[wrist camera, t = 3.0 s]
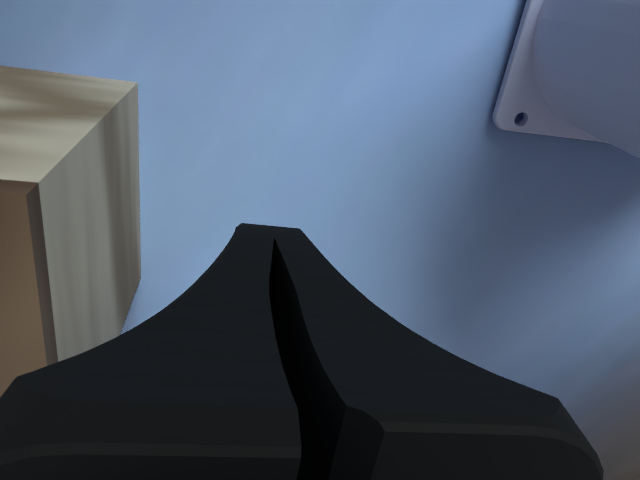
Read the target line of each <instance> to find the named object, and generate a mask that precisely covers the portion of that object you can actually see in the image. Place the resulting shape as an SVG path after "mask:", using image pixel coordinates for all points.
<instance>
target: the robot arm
mask: <svg viewBox="0 0 640 480" xmlns="http://www.w3.org/2000/svg"><path fill="white" fill-rule="evenodd" d="M521 112H523V118H522V120H521V121H520V122H519V123H515V117H516V115H517V114H519V113H521ZM492 119H493V123H494V124H495V125H496V126H497V127H498V128H500V129H502V130H505V131H514V132H522V133H530V134H539V135H547V136H555V137H564V138H572V139H580V140H589V141H597V142H605V143H608V144H610V145H612V146H614V147H616V148H618V149H620V150H622V151H624V152H626V153H628V154H630V155H632V156H634V157H636V158H638V159H640V0H527V1H526V4H525V8H524V11H523V14H522V18H521V21H520V25H519V28H518V31H517V35H516V38H515V41H514V45H513V48H512V51H511V55H510V58H509V61H508V65H507V68H506V72H505V75H504V78H503V82H502V85H501V88H500V92H499V95H498V98H497V102H496V105H495V109H494V112H493V118H492ZM0 480H603V468H602V466H601V463H600V460H599V458H598V455H597V453H596V452H595V450H594V449H593V447H592V446H591V445H590V443H589V442H588V440H587V439H586V437H585V436H584V435H583V433H582V432H581V430H580V429H579V427H578V426H577V425H576V423H575V422H574V420H573V419H572V418H571V416H570V415H569V413H568V412H567V410H566V409H565V408H564V406H563V405H562V403H561V402H560V401H559V399H558V398H555V397H553V396H550V395H548V394H545V393H542V392H540V391H537V390H535V389H532V388H529V387H527V386H524V385H522V384H519V383H516V382H514V381H511V380H509V379H506V378H503V377H501V376H498V375H496V374H494V373H491V372H489V371H487V370H485V369H483V368H481V367H478V366H476V365H474V364H472V363H470V362H468V361H466V360H464V359H461V358H459V357H457V356H456V355H454V354H452V353H450V352H448V351H446V350H444V349H442V348H440V347H438V346H437V345H435V344H433V343H432V342H430V341H428V340H427V339H425V338H423V337H422V336H420V335H418V334H416V333H415V332H413V331H411V330H410V329H408V328H407V327H405V326H404V325H402V324H401V323H399V322H398V321H396V320H395V319H394V318H392V317H391V316H390V315H388V314H387V313H385V312H384V311H383V310H381V309H380V308H379V307H377V306H376V305H375V304H373V303H372V302H371V301H370V300H369V299H367V298H366V297H365V296H364V295H363V294H362V293H360V292H359V291H358V290H357V289H356V288H355V287H354V286H353V285H352V284H350V283H349V282H348V281H347V280H346V279H345V278H344V277H343V276H342V275H341V274H340V273H339V272H338V271H337V270H336V269H335V268H334V267H333V266H332V265H331V264H330V262H329V261H328V260H327V259H326V258H325V257H324V256H323V255H322V254H321V253H320V251H319V250H318V249H317V248H316V247H315V246H314V245H313V243H312V242H311V241H310V240H309V239H308V237H307V236H306V235H305V234H304V233H303V232H302V231H301V230H300V229H298V228H287V227H277V226H266V225H256V224H245V223H241V224H240V225H239V226H237V227H236V229H235V232H234V234H233V236H232V238H231V239H230V241H229V243H228V244H227V246H226V247H225V248H224V250H223V251H222V252H221V254H220V255H219V256H218V257H217V259H216V260H215V261H214V263H213V264H212V265H211V266H210V267H209V268H208V269H207V270H206V271H205V272H204V273H203V274H202V276H201V277H200V278H199V279H198V280H197V281H196V282H195V283H194V284H193V285H192V286H191V287H190V288H188V289H187V290H186V291H185V292H184V293H183V294H182V295H181V296H179V297H178V298H177V299H176V300H174V301H173V302H172V303H171V304H169V305H168V306H167V307H165V308H164V309H163V310H161V311H160V312H158V313H157V314H155V315H154V316H152V317H151V318H149V319H147V320H146V321H144V322H143V323H141V324H140V325H138V326H136V327H135V328H133V329H131V330H129V331H127V332H125V333H123V334H121V335H120V336H118V337H116V338H114V339H112V340H110V341H107V342H105V343H103V344H101V345H99V346H97V347H94V348H92V349H90V350H88V351H85V352H83V353H81V354H78V355H76V356H73V357H70V358H67V359H65V360H62V361H59V362H57V363H54V364H51V365H48V366H46V367H43V368H40V369H38V370H35V371H32V372H29V373H26V374H23V375H20V376H17V377H16V378H15V379H14V380H13V381H12V383H11V384H10V385H9V387H8V388H7V389H6V391H5V392H4V393H3V394H2V396H1V397H0Z"/></svg>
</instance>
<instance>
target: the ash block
mask: <svg viewBox="0 0 640 480" xmlns="http://www.w3.org/2000/svg"><path fill="white" fill-rule="evenodd" d="M140 279H141V255H140V190H139V125H138V82H130V81H122V80H113V79H105V78H97V77H89V76H81V75H72V74H64V73H56V72H48V71H39V70H31V69H23V68H15V67H7V66H0V397H1V396H2V394H3V393H4V392H5V391H6V389H7V388H8V387H9V385H10V384H11V383H12V381H13V380H14V379H15V378H16V377H17V376H20V375H23V374H26V373H29V372H32V371H35V370H38V369H40V368H43V367H46V366H48V365H51V364H54V363H57V362H59V361H62V360H65V359H67V358H70V357H73V356H76V355H78V354H81V353H83V352H85V351H88V350H90V349H92V348H94V347H97V346H99V345H101V344H103V343H105V342H107V341H110V340H112V339H114V338H116V337H118V336H120V333H121V331H122V328H123V325H124V322H125V320H126V317H127V314H128V311H129V309H130V306H131V303H132V300H133V298H134V295H135V292H136V290H137V287H138V284H139V281H140Z"/></svg>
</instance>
